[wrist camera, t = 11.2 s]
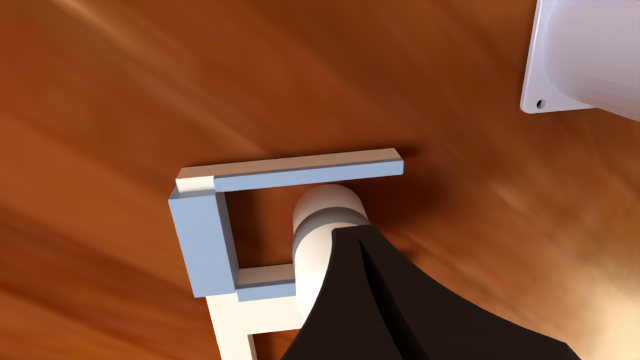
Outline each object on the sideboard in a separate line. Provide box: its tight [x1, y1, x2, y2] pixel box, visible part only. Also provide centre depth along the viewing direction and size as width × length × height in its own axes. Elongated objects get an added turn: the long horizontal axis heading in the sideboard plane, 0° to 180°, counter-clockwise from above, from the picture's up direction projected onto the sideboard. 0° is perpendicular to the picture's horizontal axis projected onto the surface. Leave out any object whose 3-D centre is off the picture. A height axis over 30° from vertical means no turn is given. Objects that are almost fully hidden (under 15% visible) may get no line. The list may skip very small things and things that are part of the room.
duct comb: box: [168, 148, 403, 360], centre depth 25 cm, size 12×19×2 cm, turn 4°
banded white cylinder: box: [292, 184, 371, 319], centre depth 20 cm, size 5×5×7 cm
